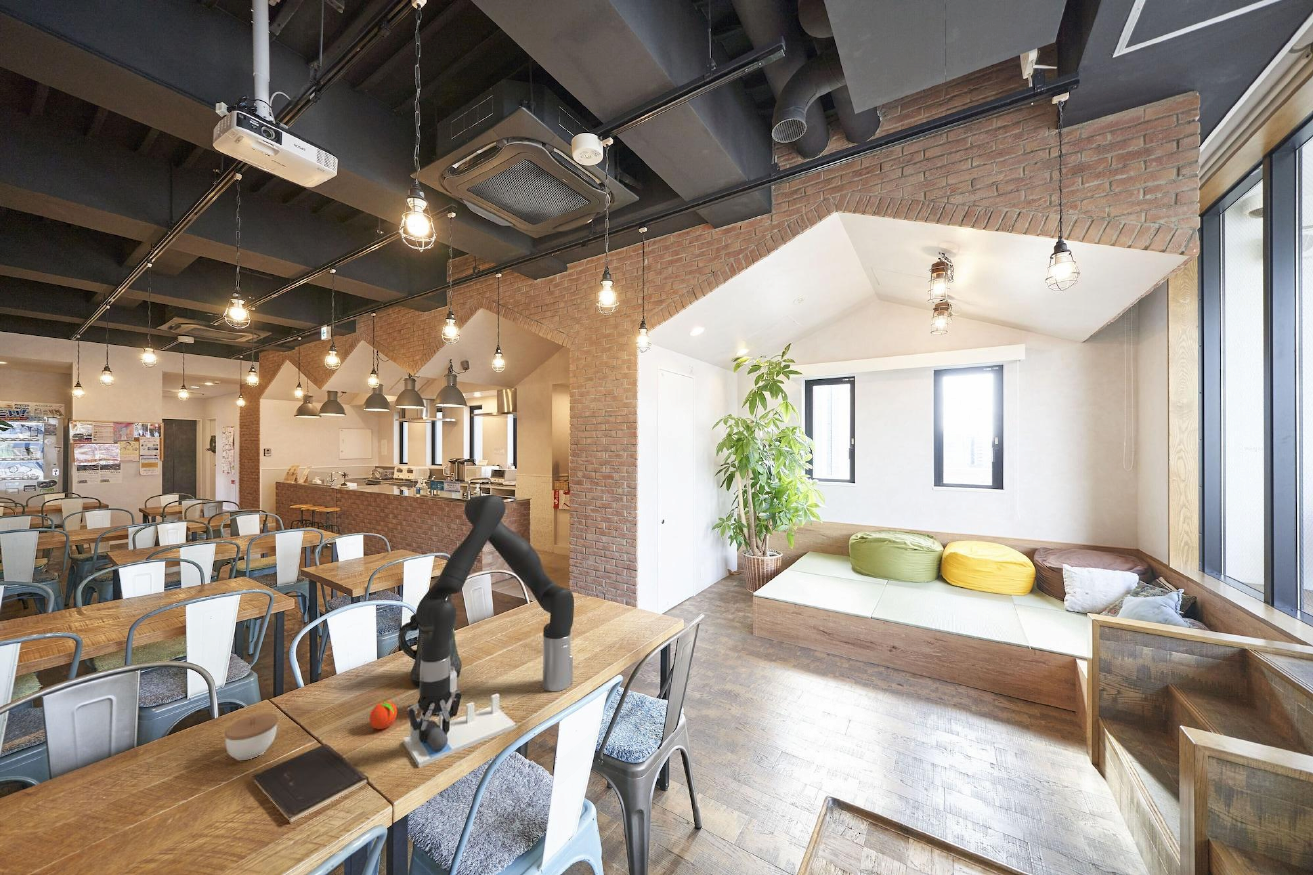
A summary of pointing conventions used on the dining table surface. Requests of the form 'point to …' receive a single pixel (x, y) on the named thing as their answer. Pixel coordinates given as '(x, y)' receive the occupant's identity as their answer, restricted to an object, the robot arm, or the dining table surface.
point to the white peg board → (461, 732)
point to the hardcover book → (309, 781)
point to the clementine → (383, 715)
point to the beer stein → (416, 654)
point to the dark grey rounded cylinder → (436, 736)
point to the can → (451, 686)
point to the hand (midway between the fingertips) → (434, 737)
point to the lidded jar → (251, 736)
